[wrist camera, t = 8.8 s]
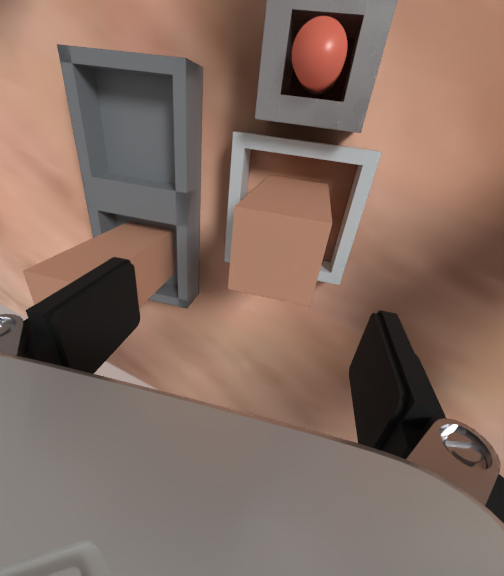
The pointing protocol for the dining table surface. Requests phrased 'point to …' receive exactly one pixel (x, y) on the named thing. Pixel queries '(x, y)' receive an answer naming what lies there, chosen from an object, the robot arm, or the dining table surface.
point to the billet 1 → (114, 243)
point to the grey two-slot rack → (140, 148)
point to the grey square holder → (361, 75)
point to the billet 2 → (280, 239)
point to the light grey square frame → (332, 152)
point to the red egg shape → (319, 54)
